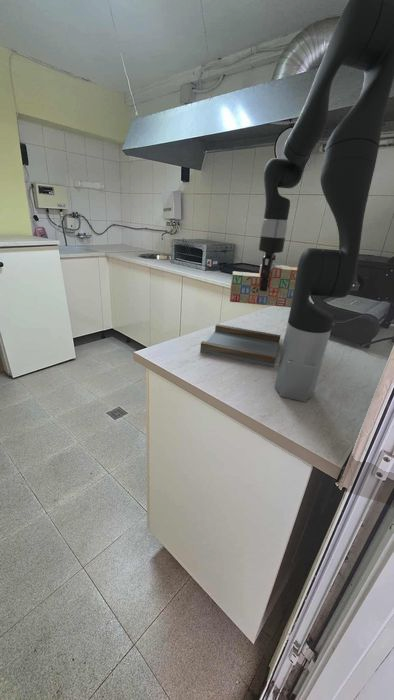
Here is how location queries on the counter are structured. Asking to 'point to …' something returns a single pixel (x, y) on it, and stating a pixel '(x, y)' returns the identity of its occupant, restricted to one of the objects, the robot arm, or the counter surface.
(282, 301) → the stack of blocks
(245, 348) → the tray
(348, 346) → the counter surface
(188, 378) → the counter surface
